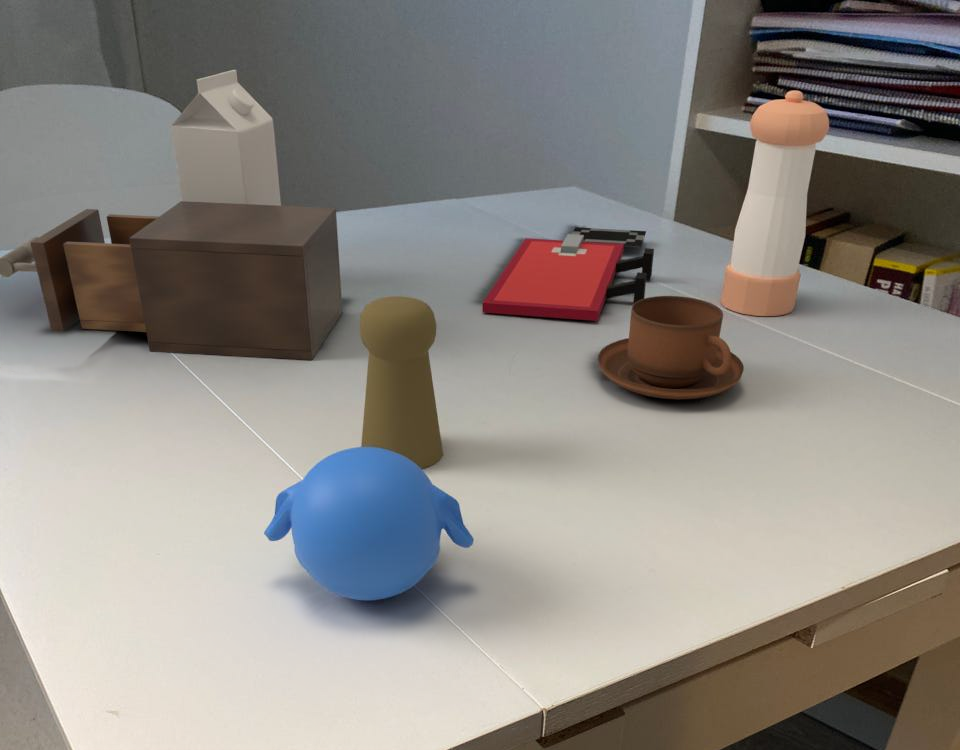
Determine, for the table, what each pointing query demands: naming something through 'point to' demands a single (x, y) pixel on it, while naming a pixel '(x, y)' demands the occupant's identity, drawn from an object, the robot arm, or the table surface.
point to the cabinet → (239, 279)
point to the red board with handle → (569, 275)
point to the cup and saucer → (672, 350)
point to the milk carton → (226, 146)
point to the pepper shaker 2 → (774, 208)
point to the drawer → (85, 272)
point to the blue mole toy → (367, 523)
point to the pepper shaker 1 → (400, 379)
